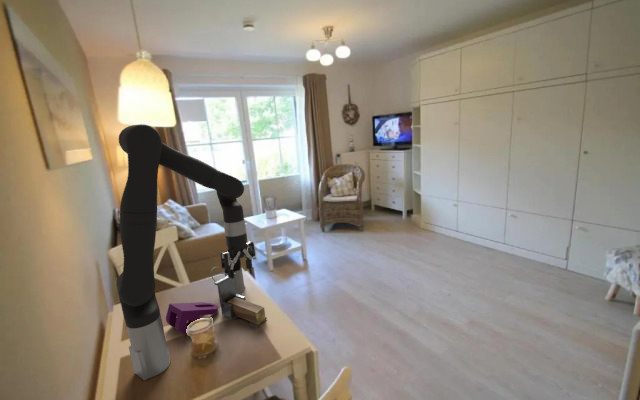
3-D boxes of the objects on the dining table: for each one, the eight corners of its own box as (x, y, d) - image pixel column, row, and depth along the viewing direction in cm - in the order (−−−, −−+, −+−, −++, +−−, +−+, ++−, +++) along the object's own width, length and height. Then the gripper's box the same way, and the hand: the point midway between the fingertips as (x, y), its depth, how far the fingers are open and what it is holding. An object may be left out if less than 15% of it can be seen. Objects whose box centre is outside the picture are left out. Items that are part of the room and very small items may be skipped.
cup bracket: (230, 321, 119) (225, 286, 116) (219, 316, 123) (214, 282, 119) (247, 309, 126) (243, 276, 123) (237, 305, 130) (232, 272, 126)
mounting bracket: (205, 322, 130) (163, 326, 116) (210, 302, 131) (169, 303, 117) (218, 329, 124) (176, 335, 110) (223, 308, 125) (182, 311, 111)
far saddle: (255, 328, 114) (255, 325, 113) (249, 325, 115) (249, 323, 115) (266, 319, 118) (266, 317, 118) (261, 317, 120) (260, 315, 120)
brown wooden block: (258, 324, 114) (256, 312, 113) (229, 313, 123) (227, 301, 122) (265, 319, 117) (264, 307, 116) (237, 307, 126) (235, 296, 125)
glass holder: (248, 289, 142) (244, 259, 139) (217, 300, 134) (212, 269, 131) (241, 282, 149) (237, 254, 146) (212, 293, 141) (207, 262, 138)
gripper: (226, 239, 105) (232, 283, 108) (257, 227, 116) (261, 267, 120) (212, 236, 109) (218, 279, 112) (243, 225, 120) (247, 264, 124)
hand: (240, 273), depth 116 cm, fingers open, 8 cm apart
